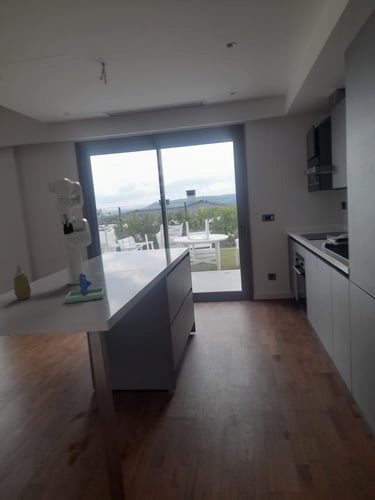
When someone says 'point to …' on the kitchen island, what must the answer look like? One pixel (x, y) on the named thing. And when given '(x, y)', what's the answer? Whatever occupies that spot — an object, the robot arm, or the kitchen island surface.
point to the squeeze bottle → (21, 285)
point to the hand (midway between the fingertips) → (69, 233)
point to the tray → (92, 294)
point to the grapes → (84, 284)
